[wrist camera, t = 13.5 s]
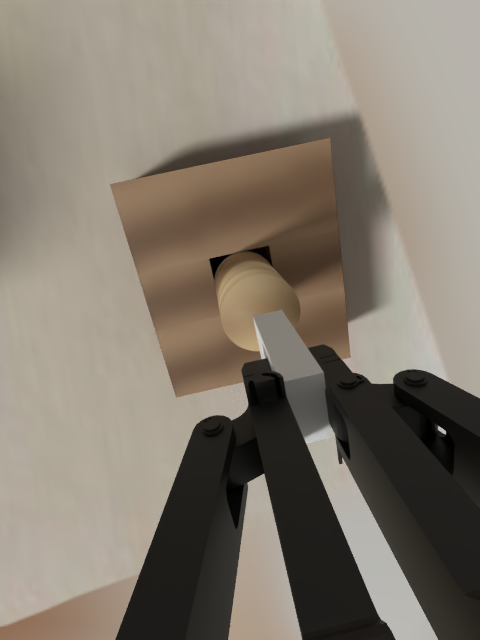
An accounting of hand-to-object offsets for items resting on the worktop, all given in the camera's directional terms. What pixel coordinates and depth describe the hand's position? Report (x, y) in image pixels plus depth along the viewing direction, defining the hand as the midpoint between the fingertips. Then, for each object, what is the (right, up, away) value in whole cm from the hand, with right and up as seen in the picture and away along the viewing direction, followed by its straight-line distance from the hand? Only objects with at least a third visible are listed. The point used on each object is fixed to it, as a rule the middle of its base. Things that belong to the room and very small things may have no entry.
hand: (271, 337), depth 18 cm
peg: (-2, +6, +16) cm, 17 cm away
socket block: (-2, +6, +16) cm, 17 cm away
